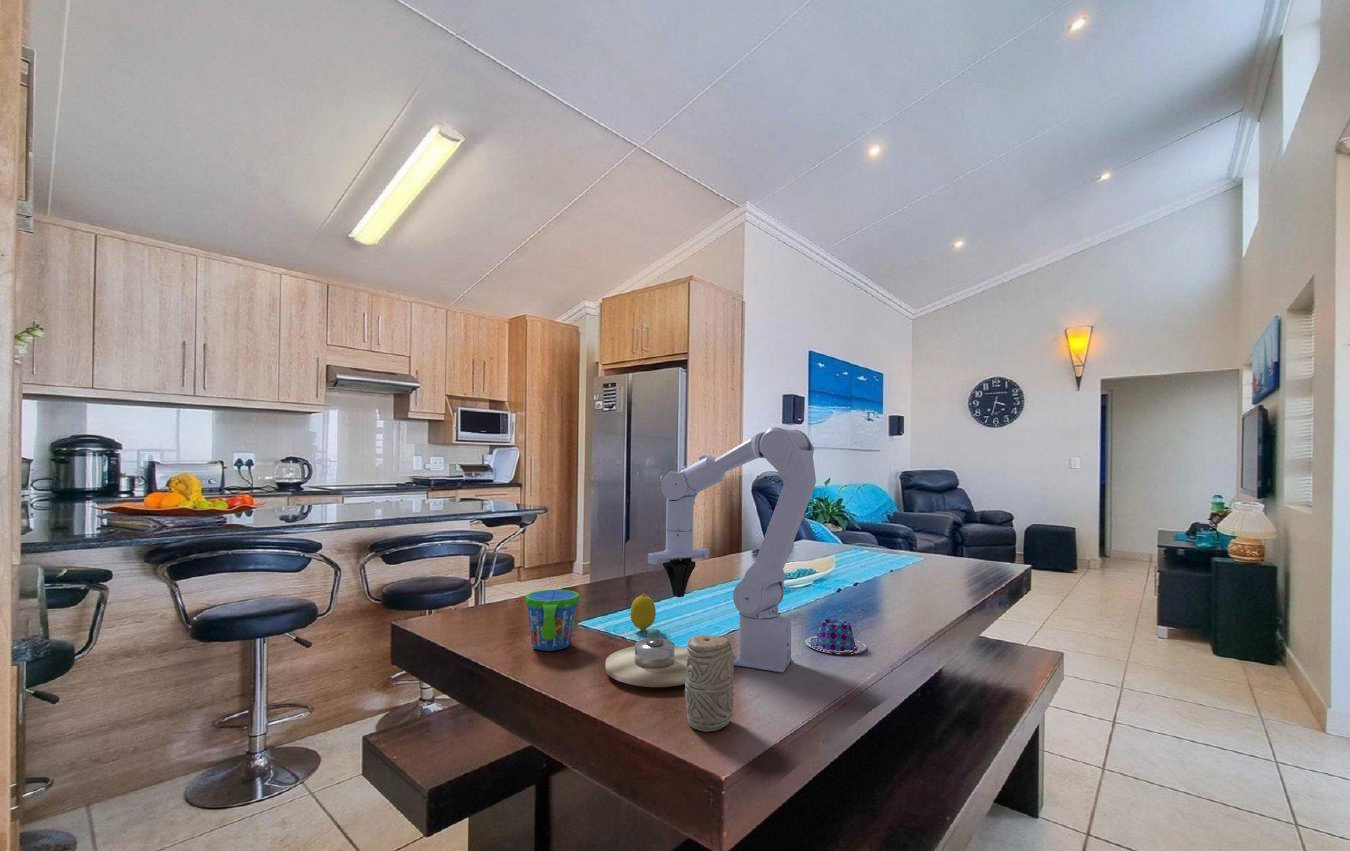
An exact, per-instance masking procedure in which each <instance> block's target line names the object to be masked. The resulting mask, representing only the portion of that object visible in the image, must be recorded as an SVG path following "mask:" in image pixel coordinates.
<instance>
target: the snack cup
mask: <svg viewBox="0 0 1350 851" xmlns="http://www.w3.org/2000/svg"><path fill="white" fill-rule="evenodd" d="M524 602H525V605H526V607H527V614H528V615H527V616H528V624H529V630H530V631H529V632H530V639H531V640H530V641H531V645H532V647H533V649H534V650H539V651H546V652H552V651H559V650H562V649H565V648H566V649H567V648H568V647H569V645H571V642H572V637H573V630H574V626H575V625H574V624H575V618H576V611H577V606H578V604H579V602H580V594H579V593H578V592H576V591H574V590H569V589H545V590H543V589H542V590H537V591H533V592H529V593H527V594H526V595H525V601H524Z"/></svg>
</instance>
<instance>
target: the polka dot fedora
mask: <svg viewBox="0 0 1350 851" xmlns="http://www.w3.org/2000/svg"><path fill="white" fill-rule="evenodd" d="M811 638H817V639H816V644H815V647H816V646H821V647H823V649H826V650H836V651H844V650H854V647H856V644H855V640H856V638H855V637H854V634H853V629H852V625H851V624H850V622H848V621H847V620H845V619H844V620H843V619H839V618H826V619H822V620H821V621H820V623H819V627H818V631H817V635H813V636H809V637H807V638H806V639H805V641H804V643H805V644H806V645H807V646H808V647H810V648H812V649H814V650H816V651H819V652H824V653H829V654H831V653H830V652H828V651H827V652H825V651H824V650H823V651H821V650H822V649H820V650H818V649H819V648H818V649H815V648H813V647H811V645H810V644H809V643H808V642H811V641H810V640H811ZM857 641H858V642H861V641H859V640H857ZM863 645H864V646H865V649H864V650H863V651H861V652H858V653H857V654H859V653H862V652H865V650H866V649H867V646H866V644H864V643H863ZM854 651H855V650H854ZM866 651H867V650H866ZM835 653H836V652H835ZM850 653H851V652H850ZM836 655H841V654H840V653H836ZM850 655H854V653H851V654H850Z"/></svg>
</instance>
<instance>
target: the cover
mask: <svg viewBox="0 0 1350 851" xmlns="http://www.w3.org/2000/svg"><path fill="white" fill-rule="evenodd" d="M634 646H635V664H636V665H637V666H639V667H642V668H647V669H662V668H667V667H670V666H672V665H673V664H674V655H675V646H676V645H675V643H674V641H671V640H669V639H666V638H661V637H660V638H649V639H647V638H644V639H640V640H637V641H636V642H635V643H634Z"/></svg>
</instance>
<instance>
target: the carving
mask: <svg viewBox="0 0 1350 851" xmlns="http://www.w3.org/2000/svg"><path fill="white" fill-rule="evenodd" d="M686 648H687V650H688V651H687V657H686V659H687V665H686V682H685V684H684V697H685V708H686V718H687V721H688V724H689V726H690V727H691V728H692V729H694V730H698V731H700V732H703V733H709V732H715V731H719V730H721V729H723V728H724V727H726V726H727V725H728V724H729V723H730V722H731V720H732V719H733V718H732V717H733V711H734V672H735V669H734V666H735V665H734V656H733V654H734V653H733V648H732V644H731V642H730V639H729V638H727V637H724V636H718V635H708V634H707V635H705V634H699V635H694V636H692V637H691V638H689V639H688V642H687V646H686Z"/></svg>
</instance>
